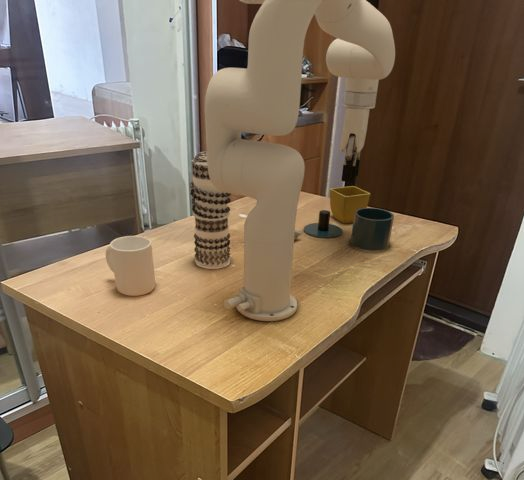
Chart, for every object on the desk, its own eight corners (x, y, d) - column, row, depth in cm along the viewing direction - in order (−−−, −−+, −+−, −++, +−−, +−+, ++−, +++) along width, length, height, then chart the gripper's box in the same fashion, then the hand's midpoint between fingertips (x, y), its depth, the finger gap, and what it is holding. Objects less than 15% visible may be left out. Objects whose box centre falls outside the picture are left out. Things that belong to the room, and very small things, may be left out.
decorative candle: (222, 251, 124) (221, 147, 110) (237, 265, 118) (238, 156, 104) (188, 257, 121) (182, 150, 107) (202, 272, 114) (197, 160, 100)
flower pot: (325, 218, 148) (329, 188, 143) (350, 214, 151) (354, 185, 146) (341, 227, 142) (345, 196, 136) (366, 224, 145) (371, 193, 140)
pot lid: (322, 243, 131) (325, 221, 128) (295, 231, 138) (297, 210, 134) (350, 235, 137) (352, 213, 134) (322, 223, 144) (324, 203, 140)
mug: (96, 285, 107) (88, 240, 101) (124, 272, 113) (118, 229, 107) (136, 300, 102) (130, 254, 96) (163, 286, 108) (159, 241, 102)
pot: (371, 255, 125) (377, 223, 121) (342, 243, 132) (346, 212, 127) (395, 246, 131) (402, 215, 126) (367, 235, 137) (371, 205, 132)
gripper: (349, 94, 123) (340, 169, 133) (337, 103, 110) (328, 185, 120) (379, 96, 122) (368, 172, 132) (371, 105, 108) (359, 189, 118)
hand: (349, 177), depth 126 cm, fingers open, 5 cm apart
